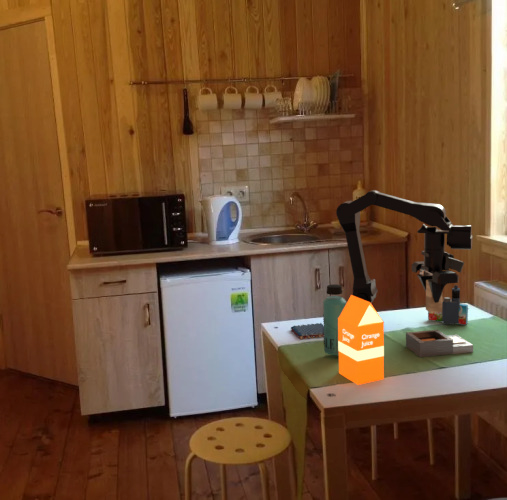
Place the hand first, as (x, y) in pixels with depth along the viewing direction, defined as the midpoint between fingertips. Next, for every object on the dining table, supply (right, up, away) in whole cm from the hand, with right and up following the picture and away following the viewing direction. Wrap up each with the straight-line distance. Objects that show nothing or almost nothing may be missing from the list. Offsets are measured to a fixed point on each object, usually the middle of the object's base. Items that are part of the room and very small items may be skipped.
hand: (433, 300), depth 184 cm
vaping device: (+9, -8, +12) cm, 17 cm away
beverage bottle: (-30, -14, -13) cm, 36 cm away
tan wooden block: (0, -3, +1) cm, 3 cm away
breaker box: (-1, -12, -10) cm, 16 cm away
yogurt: (+8, -8, +14) cm, 18 cm away
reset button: (-4, -12, -11) cm, 17 cm away
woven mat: (-35, -11, +8) cm, 38 cm away
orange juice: (-26, -17, -27) cm, 41 cm away
